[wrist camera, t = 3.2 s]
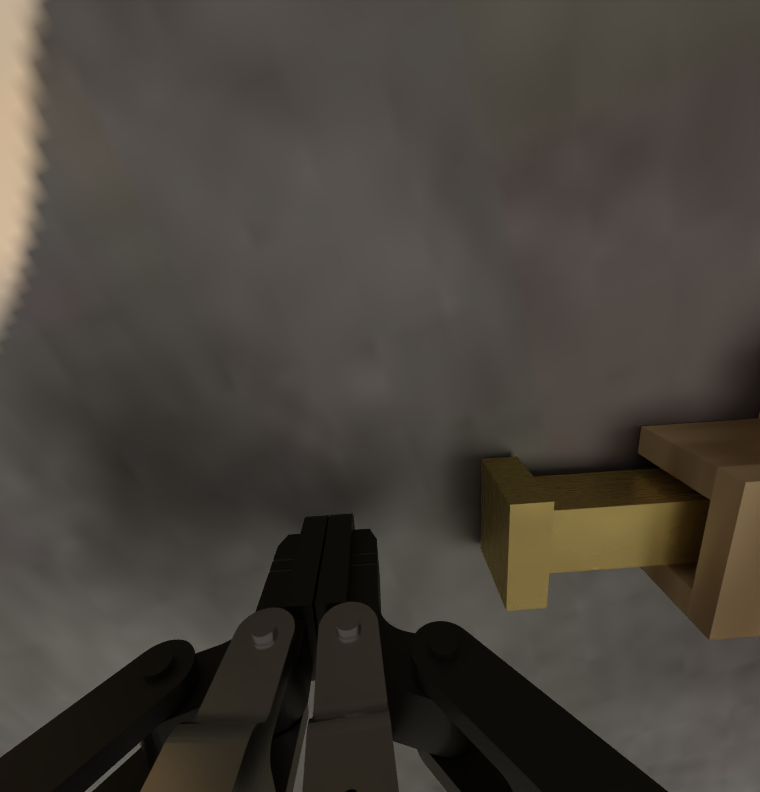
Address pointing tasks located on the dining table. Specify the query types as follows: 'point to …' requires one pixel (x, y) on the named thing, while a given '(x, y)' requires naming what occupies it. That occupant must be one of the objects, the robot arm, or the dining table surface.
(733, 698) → the dining table surface
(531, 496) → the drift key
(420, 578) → the dining table surface
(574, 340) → the dining table surface
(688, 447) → the socket block
